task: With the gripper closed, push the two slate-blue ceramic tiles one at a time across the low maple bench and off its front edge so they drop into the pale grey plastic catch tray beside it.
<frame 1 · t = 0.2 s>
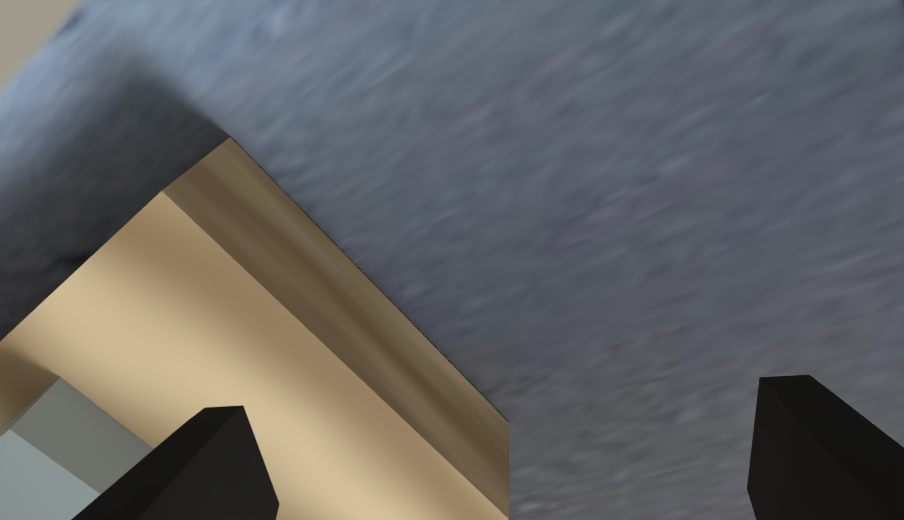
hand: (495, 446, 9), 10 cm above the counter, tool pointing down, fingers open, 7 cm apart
slate tile 1: (82, 460, 19), point 4 cm above the counter, touching maple bench
maple bench: (239, 395, 22), on the counter
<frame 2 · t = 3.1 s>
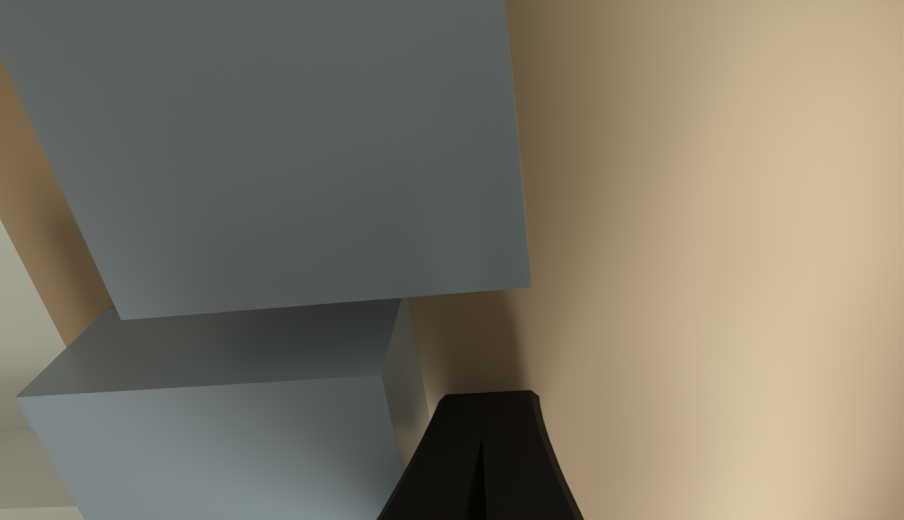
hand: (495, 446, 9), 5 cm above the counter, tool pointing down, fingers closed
slate tile 2: (289, 417, 10), point 4 cm above the counter, touching maple bench
slate tile 1: (316, 50, 7), point 4 cm above the counter, touching maple bench
maple bench: (507, 139, 12), on the counter
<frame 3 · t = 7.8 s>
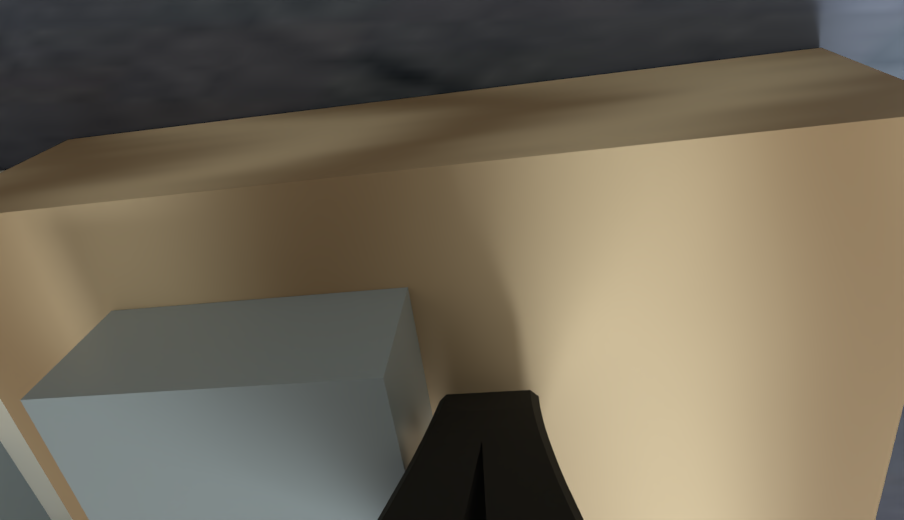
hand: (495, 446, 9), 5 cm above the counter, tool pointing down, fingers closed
slate tile 1: (293, 418, 10), point 4 cm above the counter, touching gripper
maple bench: (460, 378, 15), on the counter
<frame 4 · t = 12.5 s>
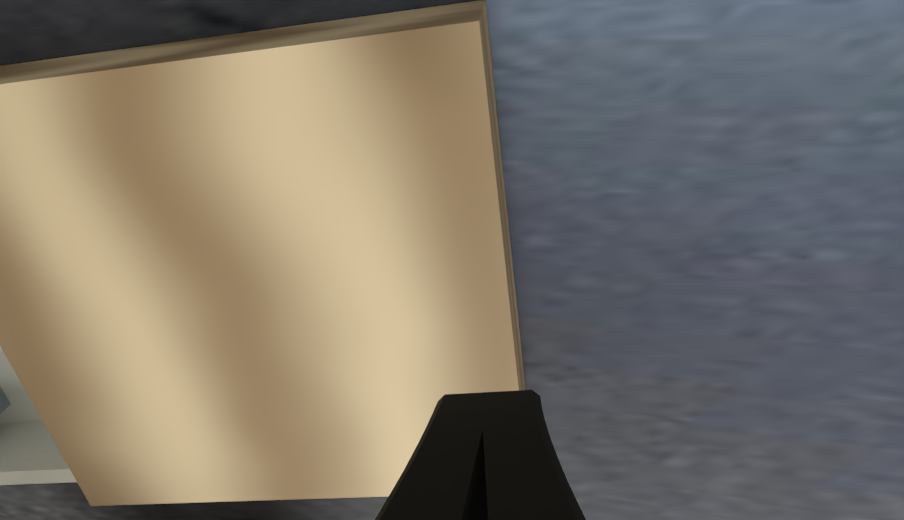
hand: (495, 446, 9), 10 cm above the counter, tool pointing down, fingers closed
maple bench: (286, 250, 20), on the counter
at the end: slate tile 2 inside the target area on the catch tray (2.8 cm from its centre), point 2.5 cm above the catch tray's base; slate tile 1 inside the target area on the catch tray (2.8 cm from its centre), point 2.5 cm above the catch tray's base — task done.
